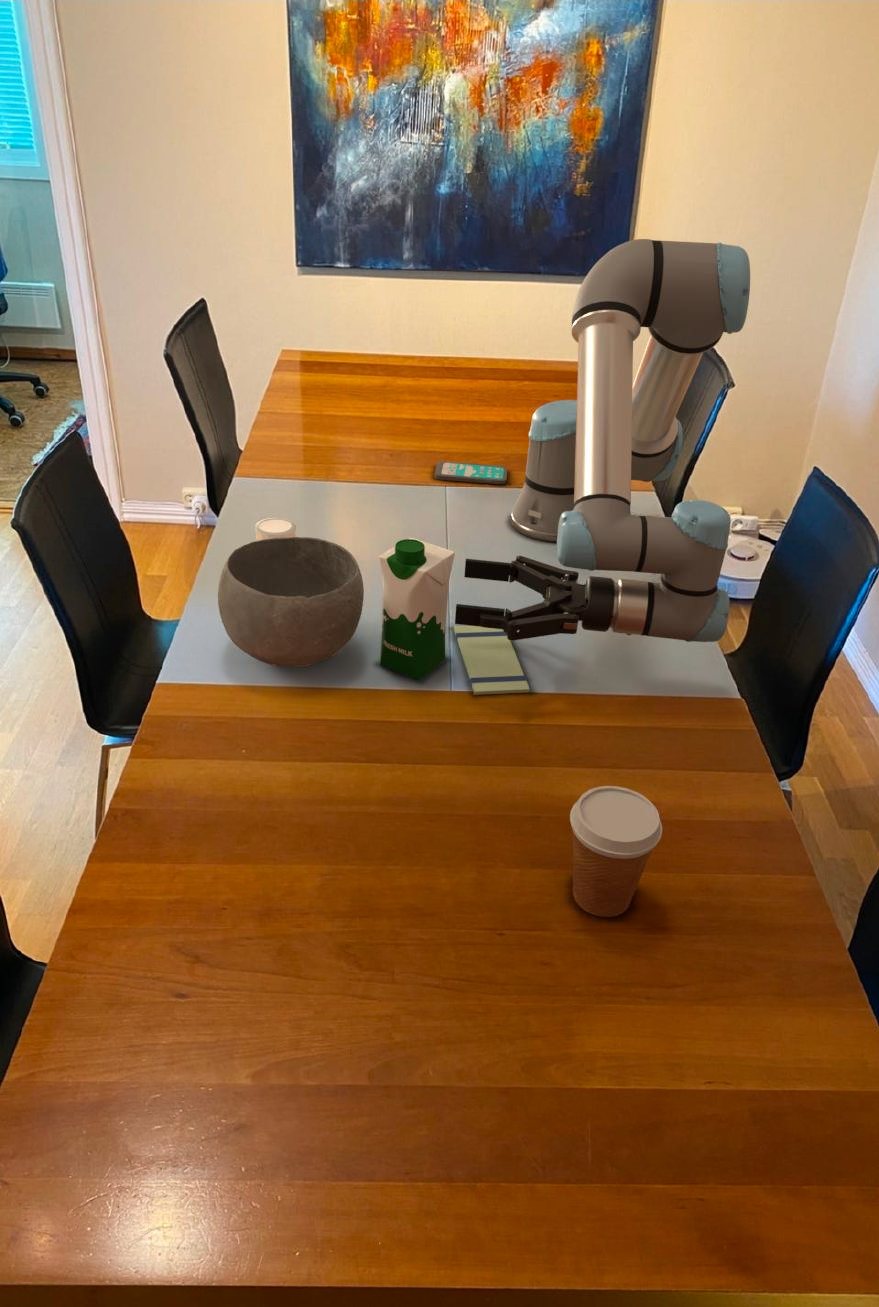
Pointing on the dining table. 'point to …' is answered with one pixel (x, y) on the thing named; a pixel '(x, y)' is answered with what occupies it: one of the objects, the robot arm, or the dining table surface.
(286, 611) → the bowl
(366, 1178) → the dining table surface
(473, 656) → the tea towel
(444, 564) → the milk carton
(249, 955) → the dining table surface
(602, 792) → the disposable coffee cup
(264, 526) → the beige tapered cylinder
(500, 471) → the smartphone
